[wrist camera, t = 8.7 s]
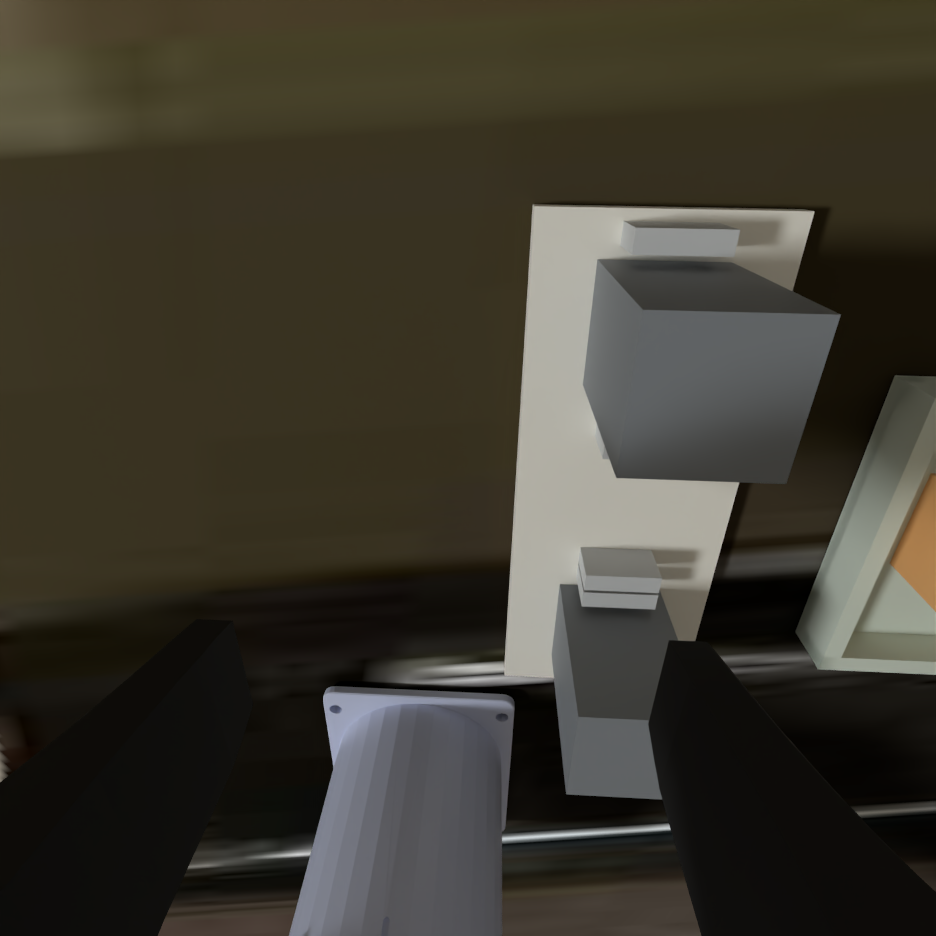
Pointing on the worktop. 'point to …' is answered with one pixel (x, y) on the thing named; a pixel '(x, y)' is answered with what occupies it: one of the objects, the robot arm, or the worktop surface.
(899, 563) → the block
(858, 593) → the tray
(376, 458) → the worktop surface
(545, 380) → the panel
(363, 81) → the worktop surface
